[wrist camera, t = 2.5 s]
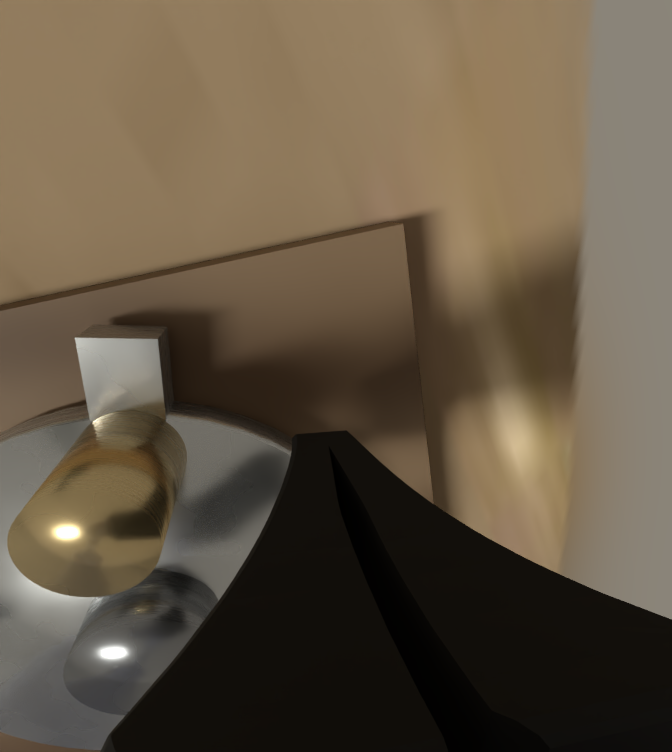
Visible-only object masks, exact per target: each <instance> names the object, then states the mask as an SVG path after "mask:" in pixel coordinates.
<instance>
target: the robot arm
mask: <svg viewBox="0 0 672 752" xmlns="http://www.w3.org/2000/svg"><path fill="white" fill-rule="evenodd" d="M100 752H672V620H671V619H669V618H666V617H663V616H661V615H658V614H655V613H653V612H650V611H648V610H645V609H642V608H640V607H637V606H634V605H632V604H629V603H627V602H624V601H621V600H619V599H616V598H613V597H611V596H608V595H606V594H603V593H601V592H598V591H596V590H593V589H591V588H589V587H587V586H584V585H582V584H580V583H578V582H575V581H573V580H571V579H569V578H566V577H564V576H562V575H560V574H557V573H555V572H553V571H551V570H549V569H547V568H545V567H542V566H540V565H538V564H536V563H534V562H532V561H530V560H528V559H526V558H524V557H522V556H520V555H518V554H516V553H514V552H513V551H511V550H509V549H507V548H505V547H503V546H501V545H499V544H498V543H496V542H494V541H492V540H490V539H488V538H486V537H485V536H483V535H481V534H480V533H478V532H476V531H474V530H473V529H471V528H469V527H468V526H466V525H465V524H463V523H461V522H460V521H458V520H457V519H455V518H454V517H452V516H450V515H449V514H447V513H446V512H444V511H443V510H441V509H440V508H438V507H437V506H435V505H434V504H432V503H431V502H430V501H428V500H427V499H426V498H424V497H423V496H422V495H420V494H419V493H418V492H416V491H415V490H414V489H412V488H411V487H410V486H408V485H407V484H406V483H405V482H403V481H402V480H401V479H400V478H398V477H397V476H396V475H395V474H394V473H393V472H391V471H390V470H389V469H388V468H387V467H386V466H384V465H383V464H382V463H381V462H380V461H379V460H378V459H377V458H376V457H375V456H374V455H372V454H371V453H370V452H369V451H368V450H367V449H366V448H365V447H364V446H363V445H362V444H361V443H360V442H359V441H358V440H357V439H356V438H355V437H353V436H352V435H351V434H350V433H349V432H348V431H347V430H344V431H331V432H317V433H304V434H296V435H295V436H294V437H293V438H292V451H291V457H290V461H289V465H288V468H287V472H286V475H285V478H284V481H283V484H282V487H281V489H280V492H279V494H278V497H277V499H276V501H275V504H274V506H273V508H272V510H271V513H270V515H269V517H268V519H267V521H266V523H265V525H264V527H263V529H262V531H261V533H260V535H259V537H258V539H257V541H256V542H255V544H254V546H253V548H252V550H251V551H250V553H249V555H248V556H247V558H246V560H245V561H244V563H243V564H242V566H241V568H240V569H239V571H238V572H237V574H236V576H235V577H234V579H233V580H232V582H231V583H230V585H229V586H228V588H227V589H226V591H225V592H224V594H223V595H222V597H221V598H220V600H219V601H218V602H217V604H216V605H215V606H214V608H213V609H212V610H211V612H210V613H209V614H208V616H207V617H206V618H205V620H204V621H203V622H202V624H201V625H200V626H199V628H198V629H197V630H196V632H195V633H194V634H193V636H192V637H191V638H190V639H189V641H188V642H187V643H186V645H185V646H184V647H183V649H182V650H181V651H180V652H179V654H178V655H177V656H176V657H175V659H174V660H173V661H172V662H171V663H170V665H169V666H168V667H167V668H166V669H165V670H164V672H163V673H162V674H161V675H160V676H159V677H158V678H157V680H156V681H155V682H154V683H153V684H152V685H151V687H150V688H149V689H148V690H147V691H146V692H145V693H144V695H143V696H142V697H141V698H140V699H139V700H138V702H137V703H136V704H135V705H134V706H133V707H132V708H131V710H130V711H129V712H128V713H127V714H126V715H125V717H124V718H123V719H122V720H121V721H120V722H119V723H118V724H117V726H116V727H115V728H114V729H113V730H112V731H111V733H110V734H109V735H108V737H107V739H106V741H105V743H104V745H103V747H102V749H101V751H100Z"/></svg>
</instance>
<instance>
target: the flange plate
mask: <svg viewBox="0 0 672 752" xmlns="http://www.w3.org/2000/svg"><path fill="white" fill-rule="evenodd" d="M75 342H76V347H77V353H78V358H79V364H80V369H81V375H82V380H83V386H84V391H85V397H86V402H87V405H81V406H76V407H70V408H66V409H62V410H59V411H56V412H52V413H49V414H46V415H43V416H39V417H36V418H33V419H30V420H28V421H26V422H24V423H21V424H19V425H17V426H15V427H12V428H10V429H8V430H6V431H3V432H1V433H0V732H2V733H5V734H8V735H11V736H14V737H18V738H22V739H26V740H30V741H34V742H38V743H42V744H48V745H54V746H60V747H66V748H77V749H88V750H101V749H102V747H103V745H104V743H105V741H106V739H107V737H108V735H109V734H110V733H111V731H112V730H113V729H114V728H115V727H116V726H117V724H118V723H119V722H120V721H121V720H122V719H123V718H124V717H125V715H126V714H127V713H128V712H129V711H130V710H131V708H132V707H133V706H134V705H135V704H136V703H137V702H138V700H139V699H140V698H141V697H142V696H143V695H144V693H145V692H146V691H147V690H148V689H149V688H150V687H151V685H152V684H153V683H154V682H155V681H156V680H157V678H158V677H159V676H160V675H161V674H162V673H163V672H164V670H165V669H166V668H167V667H168V666H169V665H170V663H171V662H172V661H173V660H174V659H175V657H176V656H177V655H178V654H179V652H180V651H181V650H182V649H183V647H184V646H185V645H186V643H187V642H188V641H189V639H190V638H191V637H192V636H193V634H194V633H195V632H196V630H197V629H198V628H199V626H200V625H201V624H202V622H203V621H204V620H205V618H206V617H207V616H208V614H209V613H210V612H211V610H212V609H213V608H214V606H215V605H216V604H217V602H218V601H219V600H220V598H221V597H222V595H223V594H224V592H225V591H226V589H227V588H228V586H229V585H230V583H231V582H232V580H233V579H234V577H235V576H236V574H237V572H238V571H239V569H240V568H241V566H242V564H243V563H244V561H245V560H246V558H247V556H248V555H249V553H250V551H251V550H252V548H253V546H254V544H255V542H256V541H257V539H258V537H259V535H260V533H261V531H262V529H263V527H264V525H265V523H266V521H267V519H268V517H269V515H270V513H271V510H272V508H273V506H274V504H275V501H276V499H277V497H278V494H279V492H280V489H281V487H282V484H283V481H284V478H285V475H286V472H287V468H288V465H289V461H290V457H291V451H292V438H291V437H289V436H288V435H286V434H284V433H282V432H280V431H279V430H277V429H275V428H273V427H271V426H269V425H266V424H264V423H261V422H259V421H257V420H254V419H252V418H249V417H247V416H244V415H241V414H238V413H234V412H230V411H227V410H223V409H219V408H216V407H212V406H207V405H200V404H194V403H187V402H181V401H174V393H173V381H172V370H171V359H170V348H169V337H168V326H139V325H94V324H93V325H92V326H90V327H89V328H87V329H86V330H85V331H83V332H82V333H81V334H79V335H78V336H76V337H75Z"/></svg>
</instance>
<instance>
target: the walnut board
mask: <svg viewBox="0 0 672 752" xmlns="http://www.w3.org/2000/svg"><path fill="white" fill-rule="evenodd" d="M93 324H94V325H139V326H168V337H169V348H170V359H171V370H172V381H173V393H174V401H181V402H187V403H194V404H200V405H207V406H212V407H216V408H219V409H223V410H227V411H230V412H234V413H238V414H241V415H244V416H247V417H249V418H252V419H254V420H257V421H259V422H261V423H264V424H266V425H269V426H271V427H273V428H275V429H277V430H279V431H280V432H282V433H284V434H286V435H288V436H289V437H291V438H293V437H294V436H295V435H296V434H304V433H317V432H331V431H344V430H347V431H348V432H349V433H350V434H351V435H352V436H353V437H355V438H356V439H357V440H358V441H359V442H360V443H361V444H362V445H363V446H364V447H365V448H366V449H367V450H368V451H369V452H370V453H371V454H372V455H374V456H375V457H376V458H377V459H378V460H379V461H380V462H381V463H382V464H383V465H384V466H386V467H387V468H388V469H389V470H390V471H391V472H393V473H394V474H395V475H396V476H397V477H398V478H400V479H401V480H402V481H403V482H405V483H406V484H407V485H408V486H410V487H411V488H412V489H414V490H415V491H416V492H418V493H419V494H420V495H422V496H423V497H424V498H426V499H427V500H428V501H430V502H431V503H432V504H434V502H433V492H432V483H431V474H430V465H429V456H428V446H427V437H426V428H425V419H424V410H423V400H422V391H421V382H420V373H419V363H418V354H417V345H416V336H415V327H414V317H413V308H412V299H411V290H410V281H409V271H408V262H407V253H406V244H405V234H404V225H403V224H402V223H394V222H386V223H381V224H376V225H372V226H367V227H363V228H358V229H353V230H349V231H344V232H339V233H335V234H330V235H325V236H321V237H316V238H312V239H307V240H302V241H298V242H293V243H288V244H284V245H279V246H274V247H270V248H265V249H261V250H256V251H251V252H247V253H242V254H237V255H233V256H228V257H223V258H219V259H214V260H210V261H205V262H200V263H196V264H191V265H186V266H182V267H177V268H172V269H168V270H163V271H159V272H154V273H149V274H145V275H140V276H135V277H131V278H126V279H122V280H117V281H112V282H108V283H103V284H98V285H94V286H89V287H84V288H80V289H75V290H71V291H66V292H61V293H57V294H52V295H47V296H43V297H38V298H33V299H29V300H24V301H20V302H15V303H10V304H6V305H1V306H0V433H1V432H3V431H6V430H8V429H10V428H12V427H15V426H17V425H19V424H21V423H24V422H26V421H28V420H30V419H33V418H36V417H39V416H43V415H46V414H49V413H52V412H56V411H59V410H62V409H66V408H70V407H76V406H81V405H87V402H86V397H85V391H84V386H83V380H82V375H81V369H80V364H79V358H78V353H77V347H76V342H75V337H76V336H78V335H79V334H81V333H82V332H83V331H85V330H86V329H87V328H89V327H90V326H92V325H93ZM100 751H101V750H88V749H77V748H66V747H60V746H54V745H48V744H42V743H38V742H34V741H30V740H26V739H22V738H18V737H14V736H11V735H8V734H5V733H2V732H0V752H100Z"/></svg>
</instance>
